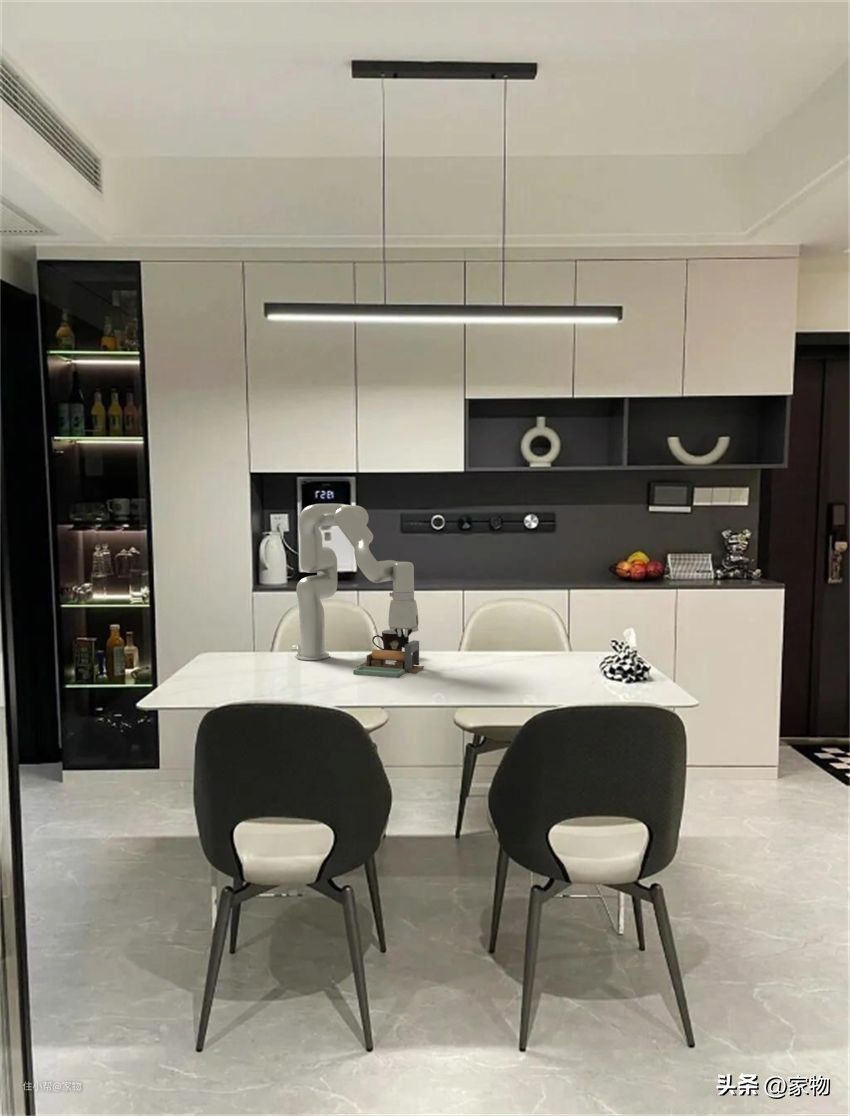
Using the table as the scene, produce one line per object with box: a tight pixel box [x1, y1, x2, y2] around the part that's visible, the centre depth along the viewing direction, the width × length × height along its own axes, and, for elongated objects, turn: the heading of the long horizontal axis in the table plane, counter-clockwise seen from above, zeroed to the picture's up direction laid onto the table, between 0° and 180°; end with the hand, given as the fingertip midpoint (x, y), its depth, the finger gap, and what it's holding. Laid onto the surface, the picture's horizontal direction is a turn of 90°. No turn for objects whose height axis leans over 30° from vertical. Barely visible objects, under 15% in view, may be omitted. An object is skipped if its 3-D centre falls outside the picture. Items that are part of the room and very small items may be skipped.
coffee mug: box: [371, 629, 405, 651], centre depth 304 cm, size 12×9×10 cm
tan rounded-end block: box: [371, 649, 405, 662], centre depth 283 cm, size 13×4×4 cm, turn 71°
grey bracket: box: [404, 639, 420, 670], centre depth 280 cm, size 2×9×9 cm, turn 161°
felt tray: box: [352, 666, 406, 679], centre depth 276 cm, size 17×7×2 cm, turn 71°
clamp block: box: [356, 652, 425, 675], centre depth 283 cm, size 23×7×5 cm, turn 71°
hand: (404, 647), depth 281 cm, fingers closed
